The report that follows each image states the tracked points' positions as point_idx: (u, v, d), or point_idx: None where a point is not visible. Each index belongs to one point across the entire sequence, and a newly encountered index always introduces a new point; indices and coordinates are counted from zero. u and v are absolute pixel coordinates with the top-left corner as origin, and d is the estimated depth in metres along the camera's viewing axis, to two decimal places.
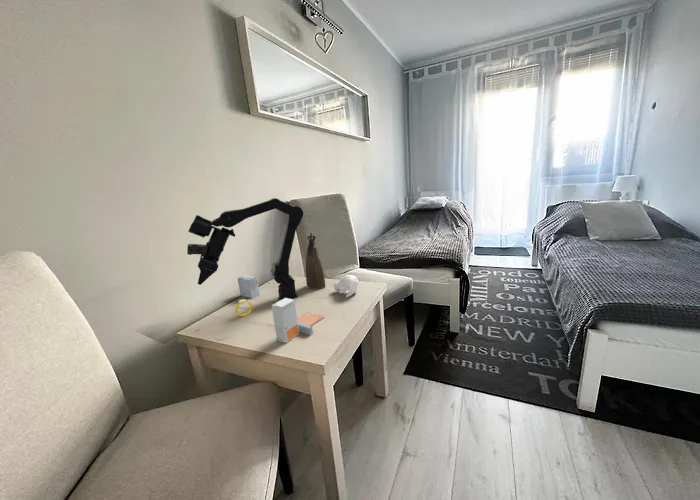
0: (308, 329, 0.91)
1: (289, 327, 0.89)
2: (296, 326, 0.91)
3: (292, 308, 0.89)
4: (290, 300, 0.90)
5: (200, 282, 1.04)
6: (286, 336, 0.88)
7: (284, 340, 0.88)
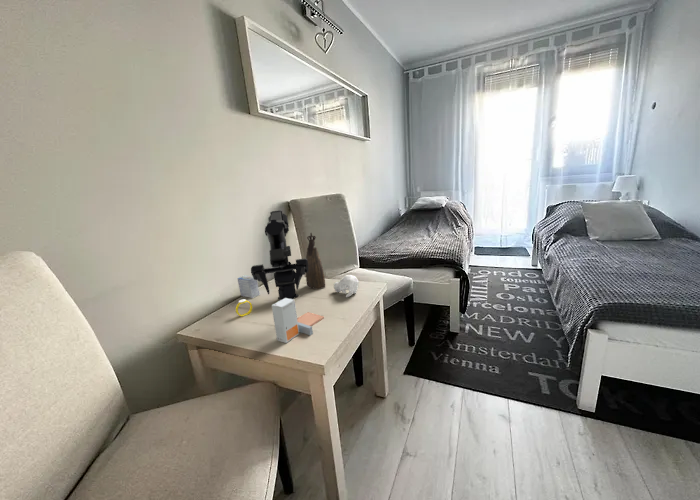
0: (308, 329, 0.91)
1: (289, 327, 0.89)
2: (296, 326, 0.91)
3: (292, 308, 0.89)
4: (290, 300, 0.90)
5: (298, 286, 0.97)
6: (286, 336, 0.88)
7: (284, 340, 0.88)
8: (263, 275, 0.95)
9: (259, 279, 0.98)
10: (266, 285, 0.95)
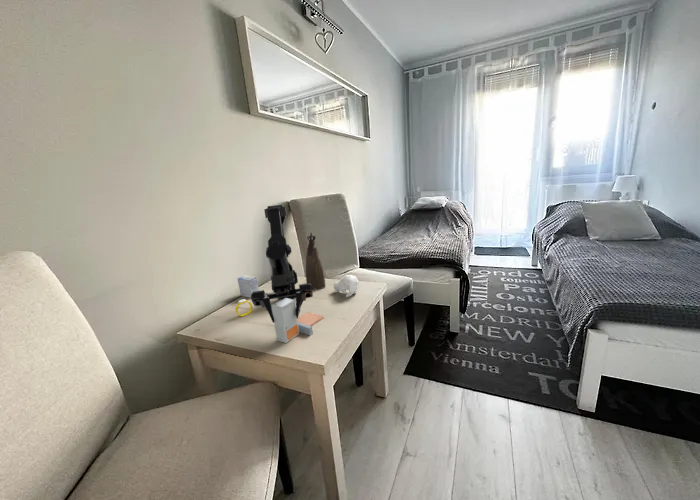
0: (308, 329, 0.91)
1: (289, 327, 0.89)
2: (296, 326, 0.91)
3: (292, 308, 0.89)
4: (290, 300, 0.90)
5: (298, 315, 0.90)
6: (286, 336, 0.88)
7: (284, 340, 0.88)
8: (267, 302, 0.89)
9: (263, 305, 0.92)
10: (271, 313, 0.89)
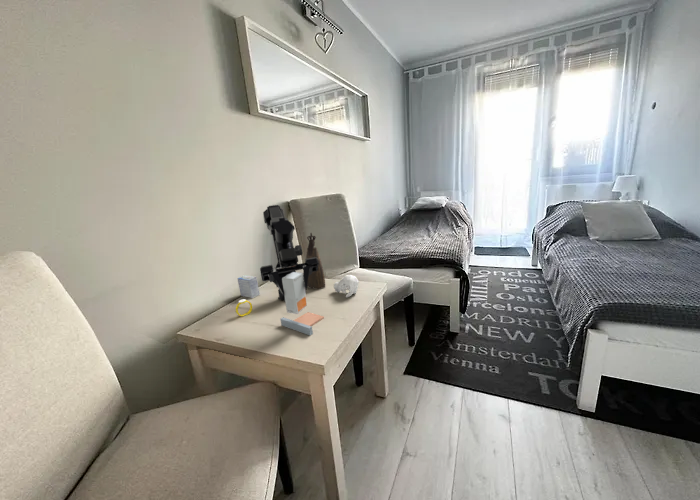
0: (308, 329, 0.91)
1: (299, 299, 0.92)
2: (304, 298, 0.95)
3: (301, 281, 0.93)
4: (299, 273, 0.93)
5: None
6: (297, 307, 0.92)
7: (295, 311, 0.92)
8: (277, 275, 0.92)
9: (271, 280, 0.95)
10: (281, 285, 0.92)
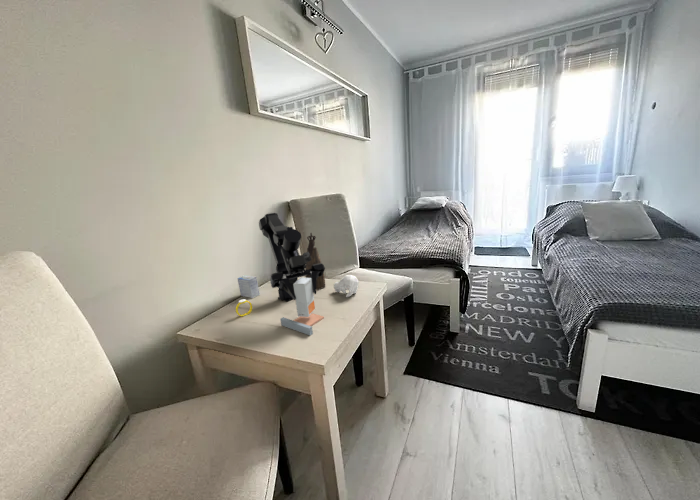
0: (308, 329, 0.91)
1: (309, 302, 0.98)
2: (313, 302, 1.02)
3: (310, 285, 0.99)
4: (308, 278, 0.99)
5: (315, 291, 1.00)
6: (308, 310, 0.97)
7: (306, 314, 0.98)
8: (288, 281, 0.97)
9: (281, 286, 1.00)
10: (292, 291, 0.97)
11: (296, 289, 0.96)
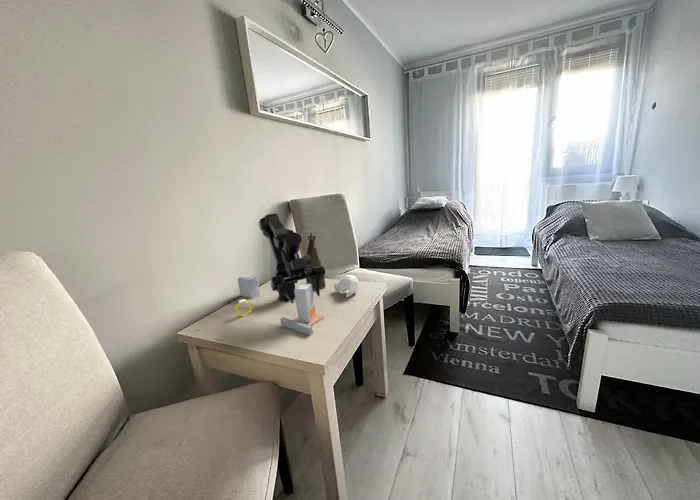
0: (308, 329, 0.91)
1: (310, 308, 0.99)
2: (314, 307, 1.02)
3: (311, 291, 1.00)
4: (308, 284, 1.00)
5: None
6: (309, 315, 0.98)
7: (307, 320, 0.98)
8: (285, 285, 0.97)
9: (278, 290, 0.99)
10: (289, 294, 0.97)
11: (297, 295, 0.97)
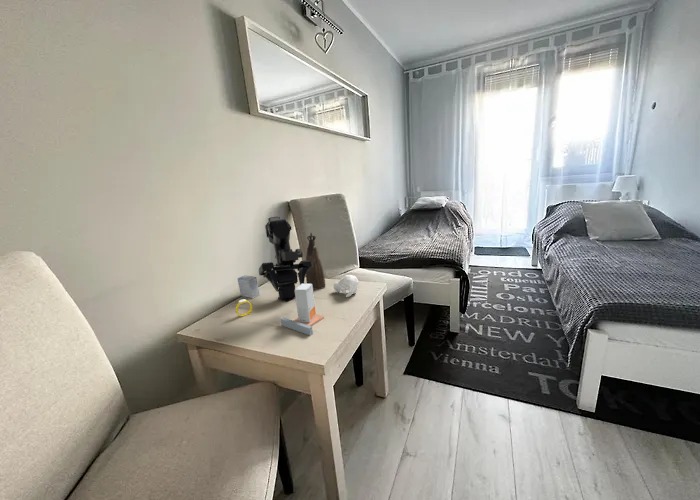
0: (308, 329, 0.91)
1: (310, 308, 0.99)
2: (314, 307, 1.02)
3: (311, 291, 1.00)
4: (309, 284, 1.00)
5: None
6: (309, 316, 0.98)
7: (307, 320, 0.98)
8: (274, 273, 1.01)
9: (265, 276, 1.03)
10: (276, 283, 1.01)
11: (297, 295, 0.97)
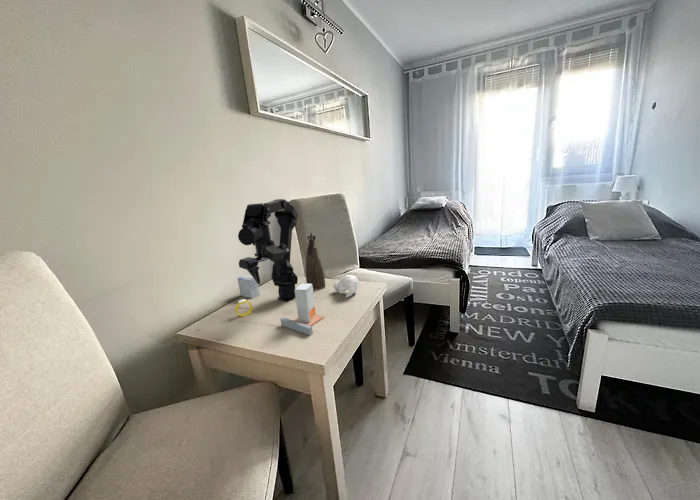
0: (308, 329, 0.91)
1: (310, 308, 0.99)
2: (314, 307, 1.02)
3: (311, 291, 1.00)
4: (309, 284, 1.00)
5: None
6: (309, 316, 0.98)
7: (307, 320, 0.98)
8: (257, 269, 1.01)
9: None
10: (258, 277, 1.03)
11: (297, 295, 0.97)
